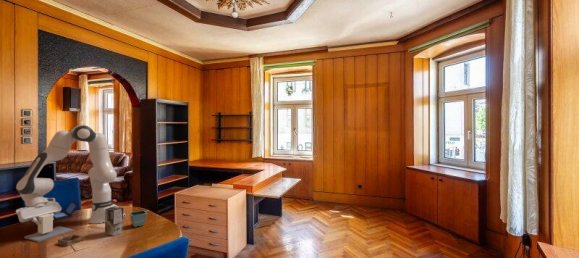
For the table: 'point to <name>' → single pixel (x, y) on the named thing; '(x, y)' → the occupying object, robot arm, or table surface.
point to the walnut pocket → (75, 240)
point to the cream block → (45, 223)
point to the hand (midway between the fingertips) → (45, 222)
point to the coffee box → (114, 220)
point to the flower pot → (138, 218)
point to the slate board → (48, 234)
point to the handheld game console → (66, 212)
